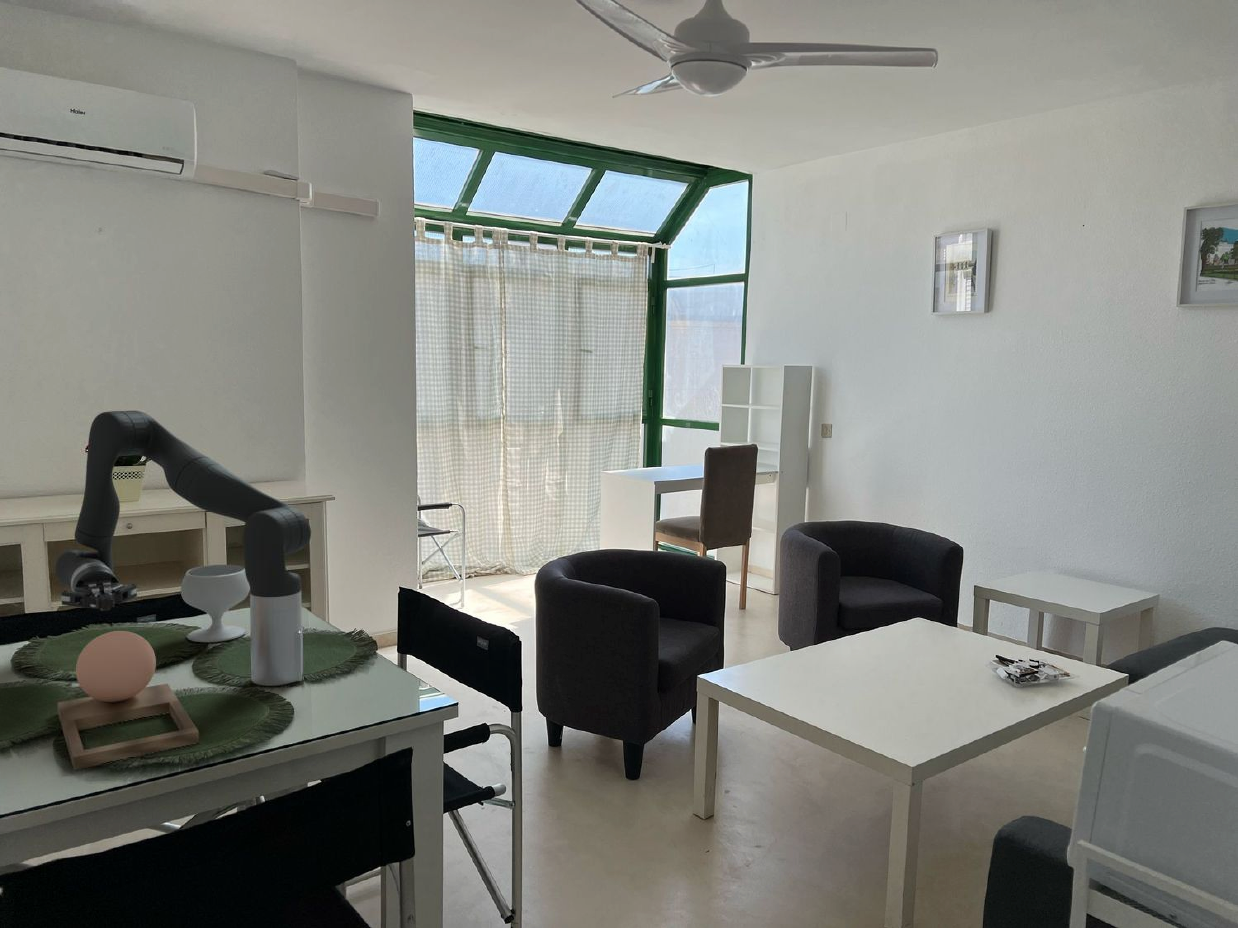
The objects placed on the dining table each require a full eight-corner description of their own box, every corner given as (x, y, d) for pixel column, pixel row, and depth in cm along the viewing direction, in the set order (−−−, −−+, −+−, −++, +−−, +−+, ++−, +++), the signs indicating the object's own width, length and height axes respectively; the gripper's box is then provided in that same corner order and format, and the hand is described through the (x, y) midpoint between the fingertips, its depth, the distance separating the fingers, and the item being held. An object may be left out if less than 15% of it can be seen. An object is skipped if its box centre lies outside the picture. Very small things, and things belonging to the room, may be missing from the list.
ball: (163, 684, 158) (161, 620, 157) (148, 709, 147) (146, 640, 145) (88, 690, 154) (86, 624, 153) (67, 715, 143) (64, 644, 142)
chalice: (212, 624, 203) (211, 561, 202) (264, 630, 199) (263, 566, 198) (167, 641, 190) (165, 574, 188) (221, 648, 186) (219, 579, 185)
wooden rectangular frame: (167, 693, 159) (167, 683, 159) (199, 743, 138) (198, 731, 138) (58, 713, 149) (57, 702, 149) (73, 770, 128) (73, 757, 128)
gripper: (54, 569, 166) (62, 588, 153) (132, 562, 174) (147, 580, 161) (55, 607, 167) (63, 630, 153) (132, 598, 175) (147, 619, 161)
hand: (106, 604), depth 157 cm, fingers closed
